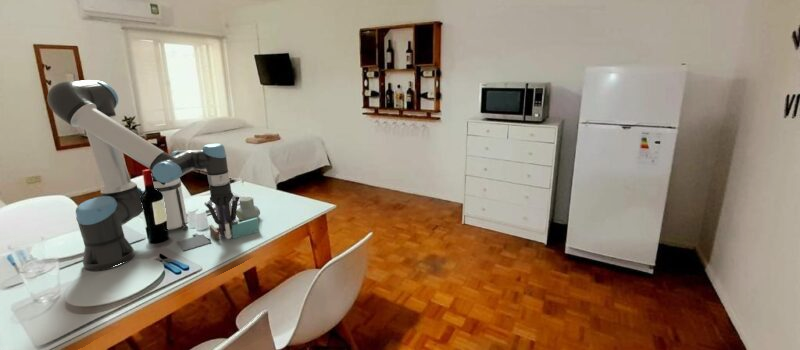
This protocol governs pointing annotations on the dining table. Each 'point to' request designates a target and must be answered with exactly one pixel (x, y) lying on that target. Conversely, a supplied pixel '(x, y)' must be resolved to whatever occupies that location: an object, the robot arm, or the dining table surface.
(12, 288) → the dining table surface
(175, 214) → the coffee press
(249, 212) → the air freshener
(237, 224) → the teal box
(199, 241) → the mat
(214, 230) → the holder
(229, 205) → the beverage can
